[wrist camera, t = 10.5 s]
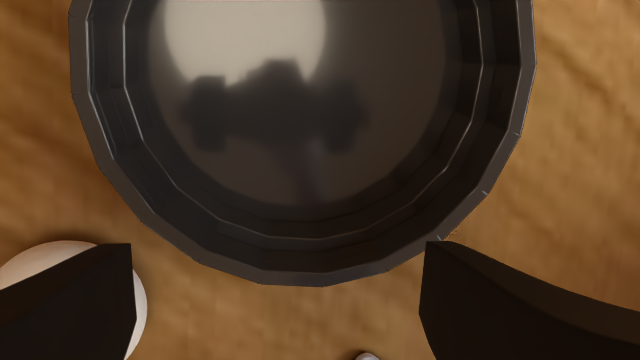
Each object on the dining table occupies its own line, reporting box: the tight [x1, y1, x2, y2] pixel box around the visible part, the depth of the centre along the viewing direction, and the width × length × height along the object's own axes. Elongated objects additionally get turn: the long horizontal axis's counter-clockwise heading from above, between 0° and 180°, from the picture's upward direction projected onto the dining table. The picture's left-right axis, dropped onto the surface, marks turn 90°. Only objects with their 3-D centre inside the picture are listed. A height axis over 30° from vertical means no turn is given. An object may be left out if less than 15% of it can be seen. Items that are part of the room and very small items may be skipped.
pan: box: [68, 0, 537, 287], centre depth 18 cm, size 15×15×4 cm
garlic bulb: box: [0, 240, 147, 360], centre depth 18 cm, size 6×6×8 cm
